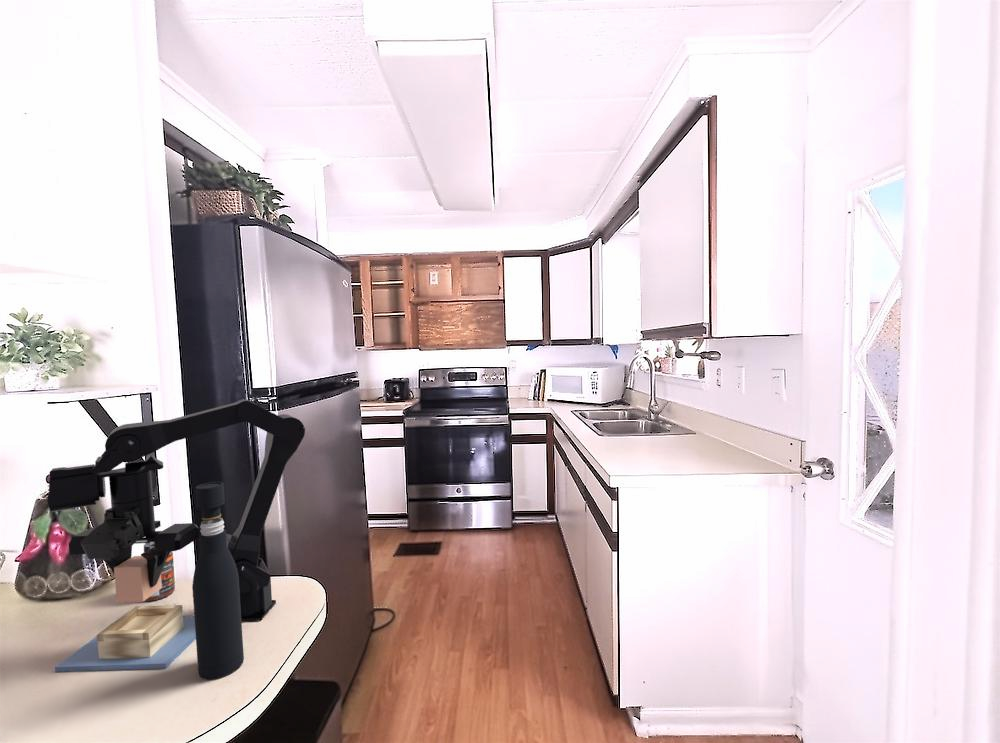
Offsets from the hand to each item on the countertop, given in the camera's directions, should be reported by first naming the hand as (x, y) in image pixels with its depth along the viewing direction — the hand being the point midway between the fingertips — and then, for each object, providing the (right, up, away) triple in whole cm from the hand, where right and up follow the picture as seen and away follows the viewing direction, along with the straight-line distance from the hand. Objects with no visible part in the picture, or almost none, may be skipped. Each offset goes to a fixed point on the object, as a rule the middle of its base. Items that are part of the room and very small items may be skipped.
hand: (139, 586), depth 84 cm
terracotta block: (0, -2, 0) cm, 2 cm away
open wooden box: (0, -11, +1) cm, 11 cm away
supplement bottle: (-10, -10, +18) cm, 23 cm away
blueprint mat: (-1, -11, +2) cm, 11 cm away
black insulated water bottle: (+17, -11, -5) cm, 21 cm away
